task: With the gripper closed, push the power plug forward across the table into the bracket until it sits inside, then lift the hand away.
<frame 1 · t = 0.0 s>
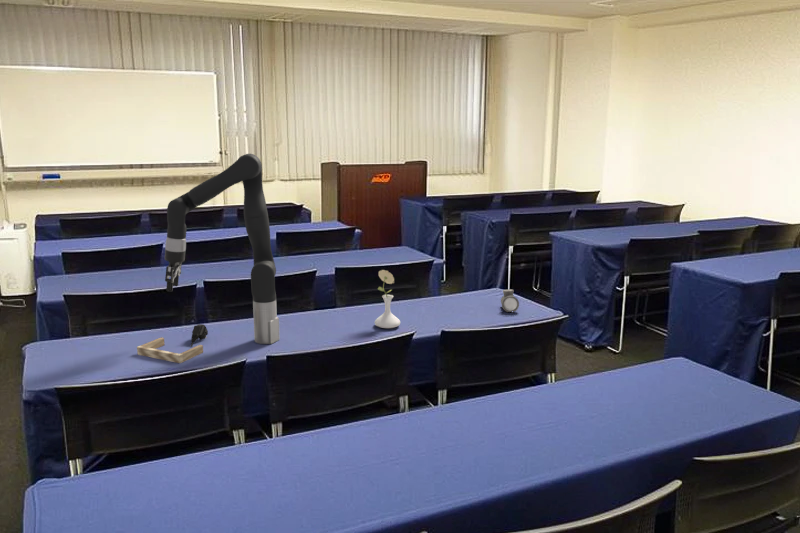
hand: (172, 288, 254), 22 cm above the table, fingers open, 8 cm apart
pipe fitting: (508, 309, 310), on the table
flower in vase: (386, 326, 283), on the table
power plug: (197, 343, 260), on the table
bracket: (172, 352, 247), on the table
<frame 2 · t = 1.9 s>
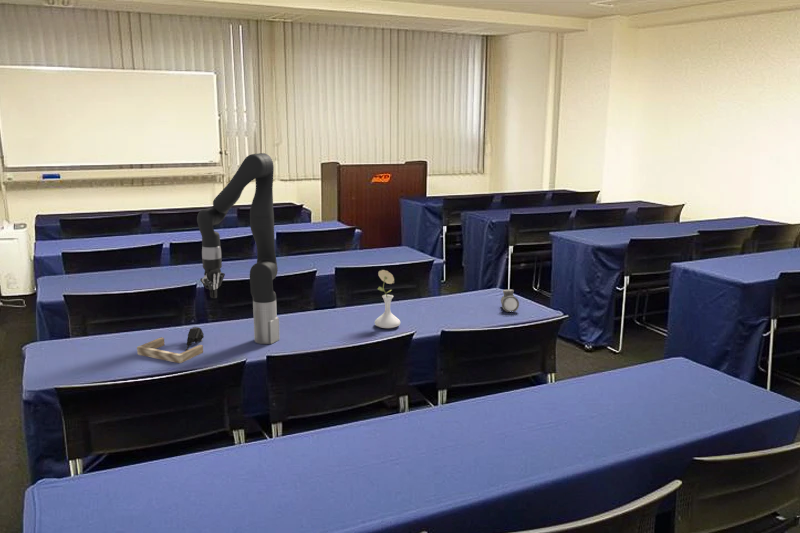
hand: (213, 297, 266), 16 cm above the table, fingers closed
power plug: (193, 346, 256), on the table
everything else where it was.
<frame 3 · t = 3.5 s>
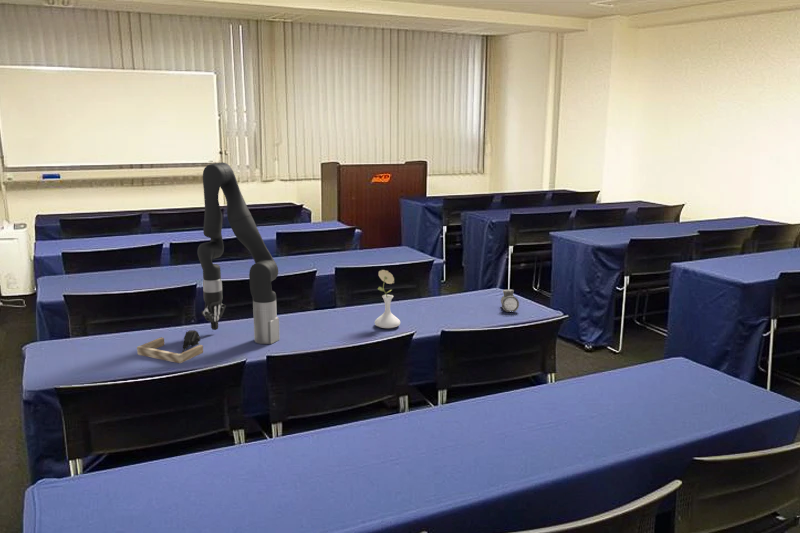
hand: (214, 329, 269), 2 cm above the table, fingers closed
power plug: (189, 349, 252), on the table
everything else where it was.
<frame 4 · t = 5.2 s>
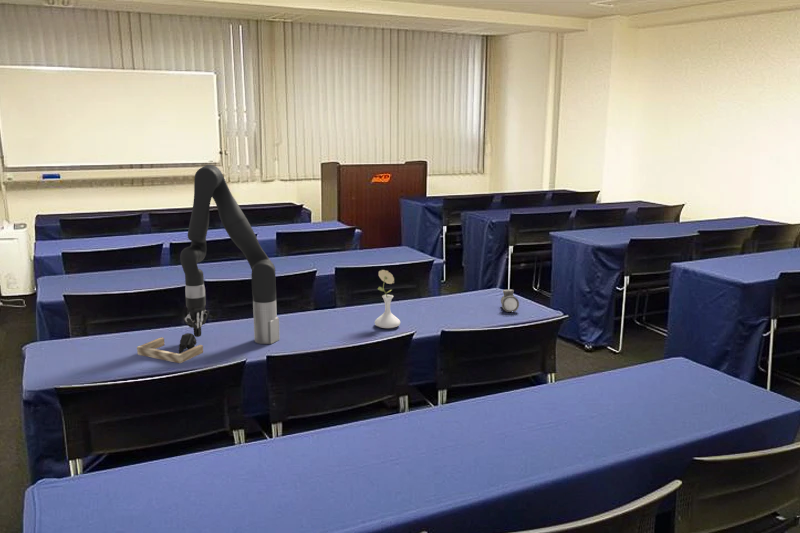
hand: (197, 336, 260), 2 cm above the table, fingers closed
power plug: (185, 353, 249), on the table
everything else where it was.
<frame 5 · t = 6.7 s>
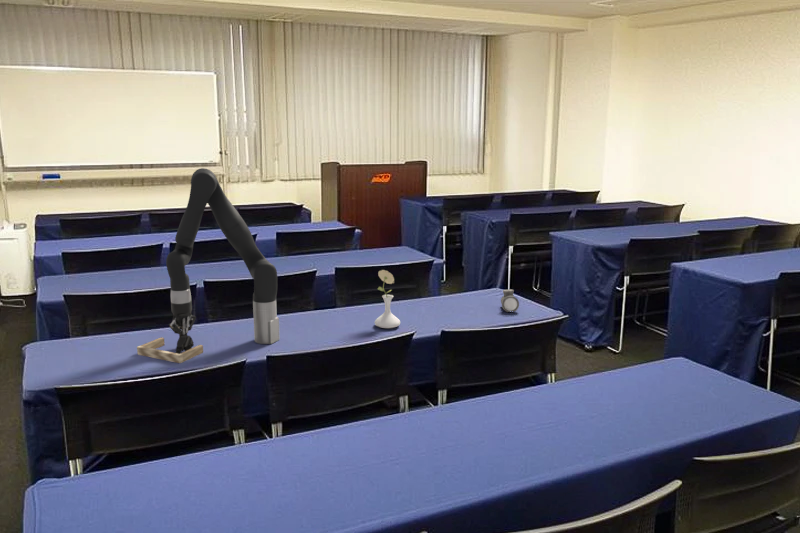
hand: (183, 342, 253), 2 cm above the table, fingers closed
power plug: (182, 355, 246), on the table
everything else where it was.
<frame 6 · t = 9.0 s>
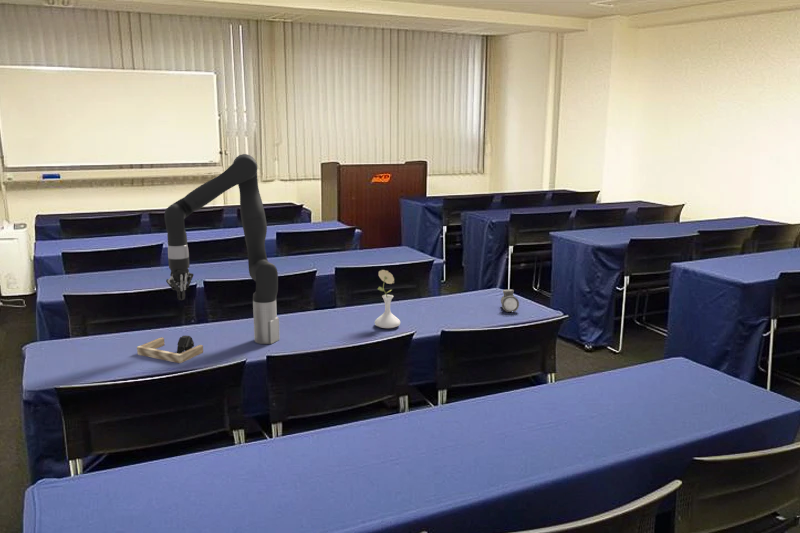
hand: (181, 299, 250), 19 cm above the table, fingers closed
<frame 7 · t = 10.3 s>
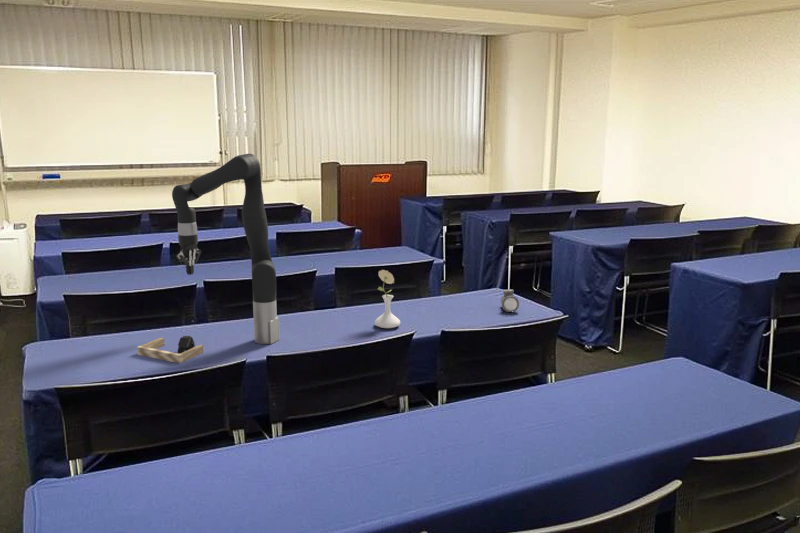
hand: (190, 274, 267), 25 cm above the table, fingers closed
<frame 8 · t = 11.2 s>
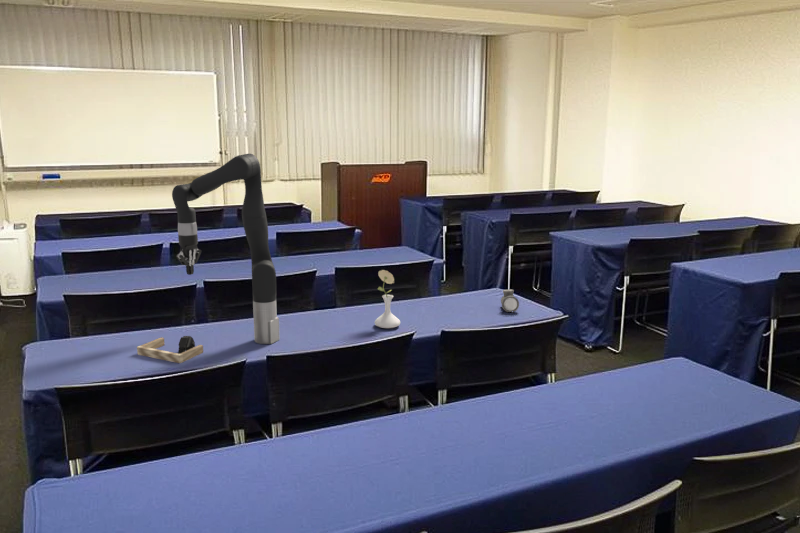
hand: (190, 274, 267), 25 cm above the table, fingers closed
at the end: power plug inside the target area on the bracket (5.8 cm from its centre), point 0.0 cm above the bracket's base; power plug moved 15.2 cm from its start; power plug tilted 0° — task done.
